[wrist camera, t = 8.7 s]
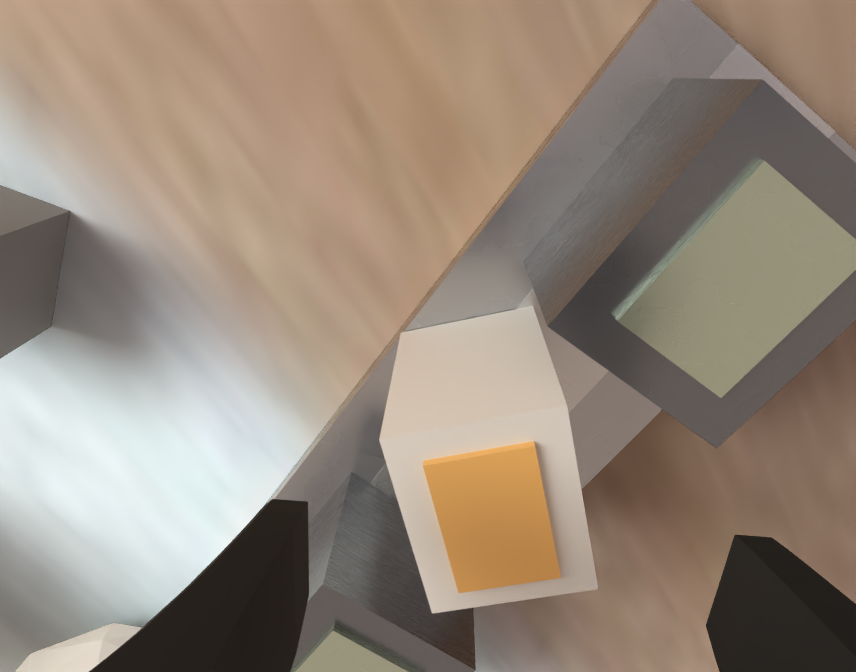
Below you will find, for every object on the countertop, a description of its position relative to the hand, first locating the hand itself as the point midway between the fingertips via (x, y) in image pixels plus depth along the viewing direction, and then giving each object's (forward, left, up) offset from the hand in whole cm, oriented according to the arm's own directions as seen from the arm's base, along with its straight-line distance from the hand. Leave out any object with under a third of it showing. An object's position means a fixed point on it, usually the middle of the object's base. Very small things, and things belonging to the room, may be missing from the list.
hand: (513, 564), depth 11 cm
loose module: (-1, +1, -9) cm, 9 cm away
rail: (-2, +2, -10) cm, 10 cm away
